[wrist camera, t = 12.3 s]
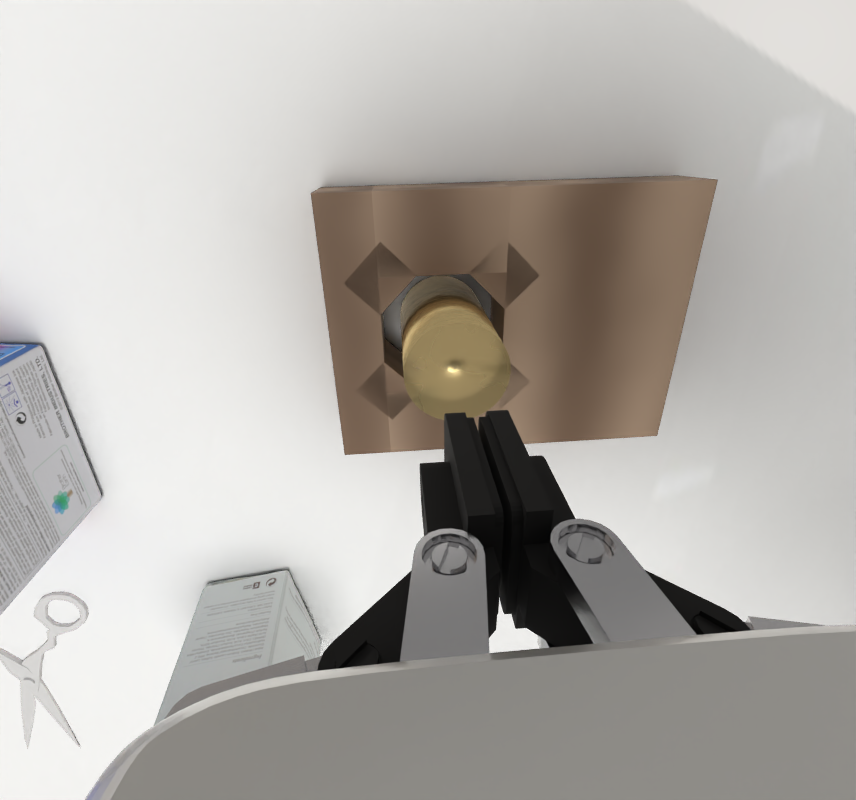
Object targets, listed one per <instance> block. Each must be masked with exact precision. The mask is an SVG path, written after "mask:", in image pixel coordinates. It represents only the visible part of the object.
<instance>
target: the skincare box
mask: <svg viewBox="0 0 856 800" xmlns="http://www.w3.org/2000/svg"><path fill="white" fill-rule="evenodd" d="M320 645H321V641H320V638H319V636H318V634H317V632H316V629H315V627H314V625H313V623H312V620H311V618H310V616H309V614H308V612H307V610H306V607H305V605H304V603H303V601H302V599H301V596H300V594H299V592H298V591H297V589H296V587H295V585H294V583H293V580H292V578H291V575H290V573H289V571H278V572H273V573H269V574H264V575H258V576H251V577H244V578H236V579H230V580H224V581H218V582H212V583H208V584H207V585H206V587H205V588H204V589H203V591H202V594H201V597H200V599H199V602H198V605H197V608H196V610H195V613H194V616H193V619H192V622H191V624H190V627H189V630H188V633H187V636H186V638H185V641H184V644H183V647H182V649H181V652H180V655H179V658H178V660H177V663H176V666H175V669H174V671H173V674H172V677H171V680H170V682H169V685H168V688H167V691H166V693H165V696H164V699H163V702H162V704H161V707H160V710H159V713H158V716H157V718H156V721H155V724H154V725H156V724H157V723H159V722H161V721H162V720H164V719H165V717H166V716H167V714H168V713H169V712H170V710H171V709H172V707H173V706H174V705H175V704H176V703H177V702H178V701H179V700H180V699H182V698H183V697H184V696H185V695H186V694H188V693H189V692H192V691H194V690H196V689H198V688H200V687H202V686H205V685H208V684H212V683H215V682H218V681H222V680H225V679H228V678H231V677H235V676H238V675H241V674H244V673H248V672H251V671H254V670H257V669H261V668H264V667H267V666H270V665H274V664H277V663H280V662H283V661H287V660H290V659H293V658H297V657H300V656H303V655H304V656H305V660H306V661H307V660H310V659H313V658H316V657H319V655H320Z"/></svg>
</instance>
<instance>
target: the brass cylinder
mask: <svg viewBox="0 0 856 800" xmlns="http://www.w3.org/2000/svg"><path fill="white" fill-rule="evenodd" d="M400 320H401V337H402V355H403V372H404V383H405V387H406V390H407V393H408V395H409V397H410V398H411V400H412V401H413V402H414V404H415V405H416V406H417V407H418V408H419V409H420V410H422V411H423V412H425V413H426V414H428V415H430V416H432V417H435V418H438V419H442V420H444V414H445V413H462V412H465V413H466V416H467V418H468V417H477V416H479V415H481V414H483V413H484V412H486V411H488V410H489V409H490V408H492V407H493V406H494V405H495V404H496V403H497V402H498V401H499V400H500V398H501V397H502V396H503V394H504V392H505V391H506V388H507V386H508V383H509V380H510V374H511V364H510V358H509V355H508V352H507V350H506V348H505V346H504V344H503V343H502V341H501V339H500V337H499V336H498V334H497V332H496V330H495V329H494V327H493V325H492V323H491V322H490V320H489V318H488V316H487V315H486V313H485V311H484V309H483V308H482V306H481V304H480V302H479V301H478V299H477V297H476V295H475V294H474V292H473V291H472V289H471V288H470V287H469V286H468V285H467V284H465V283H464V282H462V281H461V280H459V279H456V278H454V277H450V276H433V277H429V278H426V279H424V280H422V281H420V282H419V283H417V284H416V285H415V286H413V287H412V288H411V289H410V291H409V292H408V293H407V295H406V296H405V298H404V300H403V303H402V306H401V312H400Z"/></svg>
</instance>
